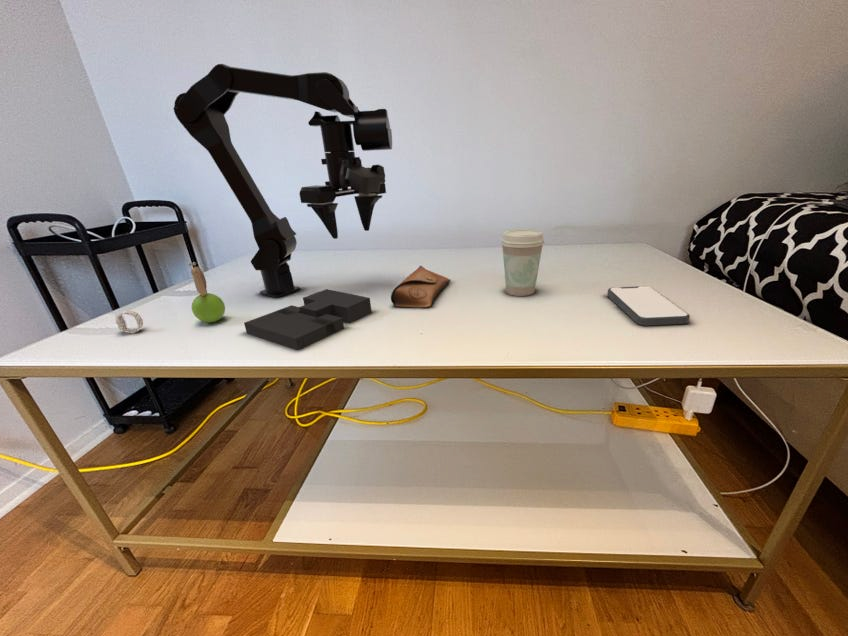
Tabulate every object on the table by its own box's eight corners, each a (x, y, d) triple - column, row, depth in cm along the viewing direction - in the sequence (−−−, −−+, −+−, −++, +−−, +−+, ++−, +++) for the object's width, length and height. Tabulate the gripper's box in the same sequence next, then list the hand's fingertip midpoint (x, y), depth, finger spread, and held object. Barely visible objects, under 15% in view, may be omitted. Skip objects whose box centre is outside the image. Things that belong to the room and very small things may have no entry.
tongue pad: (289, 318, 78) (286, 303, 76) (329, 303, 85) (326, 289, 84) (333, 330, 72) (330, 314, 70) (371, 312, 79) (369, 297, 78)
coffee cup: (495, 296, 84) (495, 236, 79) (505, 284, 91) (507, 228, 86) (536, 299, 81) (540, 237, 76) (544, 287, 88) (548, 229, 83)
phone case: (691, 325, 68) (648, 293, 82) (694, 316, 67) (650, 285, 81) (638, 328, 68) (604, 295, 82) (639, 319, 67) (605, 287, 81)
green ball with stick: (196, 331, 74) (173, 265, 69) (197, 319, 79) (175, 257, 74) (229, 324, 76) (209, 260, 71) (228, 314, 82) (209, 253, 76)
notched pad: (246, 333, 72) (243, 322, 71) (293, 314, 80) (291, 305, 79) (297, 350, 65) (295, 338, 64) (344, 328, 72) (342, 317, 72)
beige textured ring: (147, 328, 76) (139, 307, 75) (143, 332, 75) (134, 311, 73) (126, 331, 76) (116, 310, 74) (121, 335, 74) (111, 314, 72)
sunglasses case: (432, 305, 79) (413, 276, 77) (404, 321, 82) (385, 293, 80) (452, 279, 95) (436, 254, 93) (427, 293, 98) (412, 269, 96)
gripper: (331, 152, 69) (346, 246, 76) (402, 149, 83) (408, 229, 90) (289, 154, 75) (306, 241, 82) (361, 151, 88) (371, 226, 96)
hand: (351, 234), depth 87 cm, fingers open, 9 cm apart
